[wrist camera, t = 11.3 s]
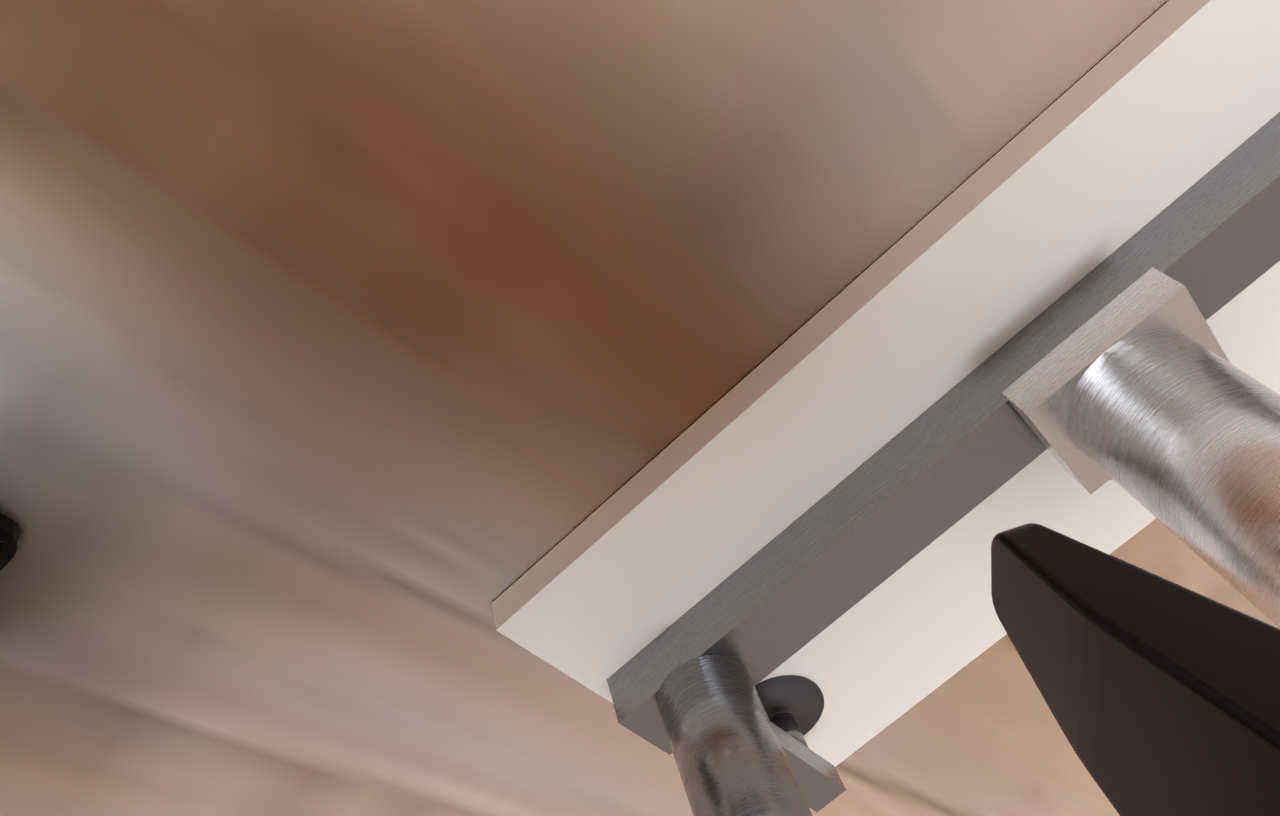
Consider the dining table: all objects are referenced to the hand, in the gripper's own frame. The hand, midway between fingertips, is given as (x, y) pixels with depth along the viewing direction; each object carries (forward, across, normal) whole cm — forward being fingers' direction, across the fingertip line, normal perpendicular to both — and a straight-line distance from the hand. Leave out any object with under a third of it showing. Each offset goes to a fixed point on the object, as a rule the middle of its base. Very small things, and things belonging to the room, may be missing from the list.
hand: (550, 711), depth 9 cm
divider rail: (+12, -13, +9) cm, 19 cm away
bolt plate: (+13, -12, +8) cm, 20 cm away
